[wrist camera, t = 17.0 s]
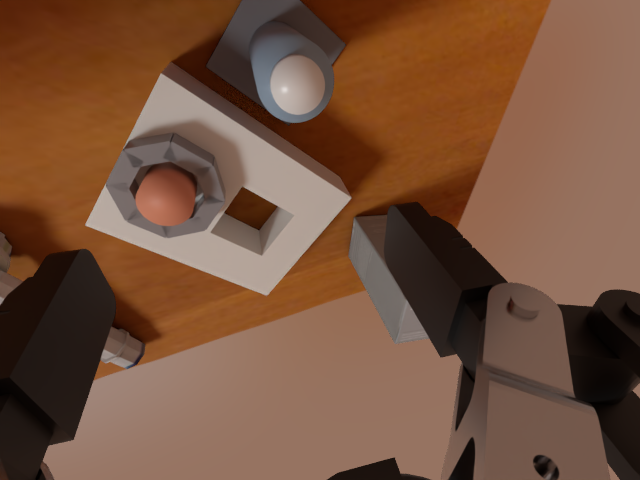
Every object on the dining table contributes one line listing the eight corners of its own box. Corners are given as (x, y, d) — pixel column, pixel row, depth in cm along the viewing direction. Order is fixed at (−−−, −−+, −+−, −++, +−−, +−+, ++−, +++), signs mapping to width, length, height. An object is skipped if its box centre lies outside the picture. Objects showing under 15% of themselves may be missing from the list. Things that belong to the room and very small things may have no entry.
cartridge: (244, 23, 28) (250, 44, 18) (300, 18, 29) (336, 36, 19) (254, 85, 31) (264, 132, 21) (305, 79, 32) (338, 122, 22)
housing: (101, 198, 35) (77, 237, 30) (170, 61, 29) (156, 78, 24) (264, 268, 45) (268, 307, 40) (339, 176, 39) (357, 207, 34)
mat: (206, 65, 30) (205, 66, 30) (261, -36, 27) (262, -36, 26) (288, 123, 35) (288, 125, 34) (344, 43, 31) (346, 44, 31)
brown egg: (136, 190, 30) (126, 211, 28) (157, 151, 29) (149, 169, 26) (183, 212, 32) (179, 233, 30) (206, 177, 31) (203, 196, 28)
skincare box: (346, 253, 47) (387, 350, 34) (354, 209, 43) (403, 300, 30) (403, 250, 49) (462, 341, 36) (415, 207, 44) (487, 292, 32)
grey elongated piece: (115, 376, 46) (-120, 284, 29) (122, 334, 51) (-76, 232, 33) (147, 361, 46) (-71, 258, 28) (152, 320, 51) (-33, 208, 33)
